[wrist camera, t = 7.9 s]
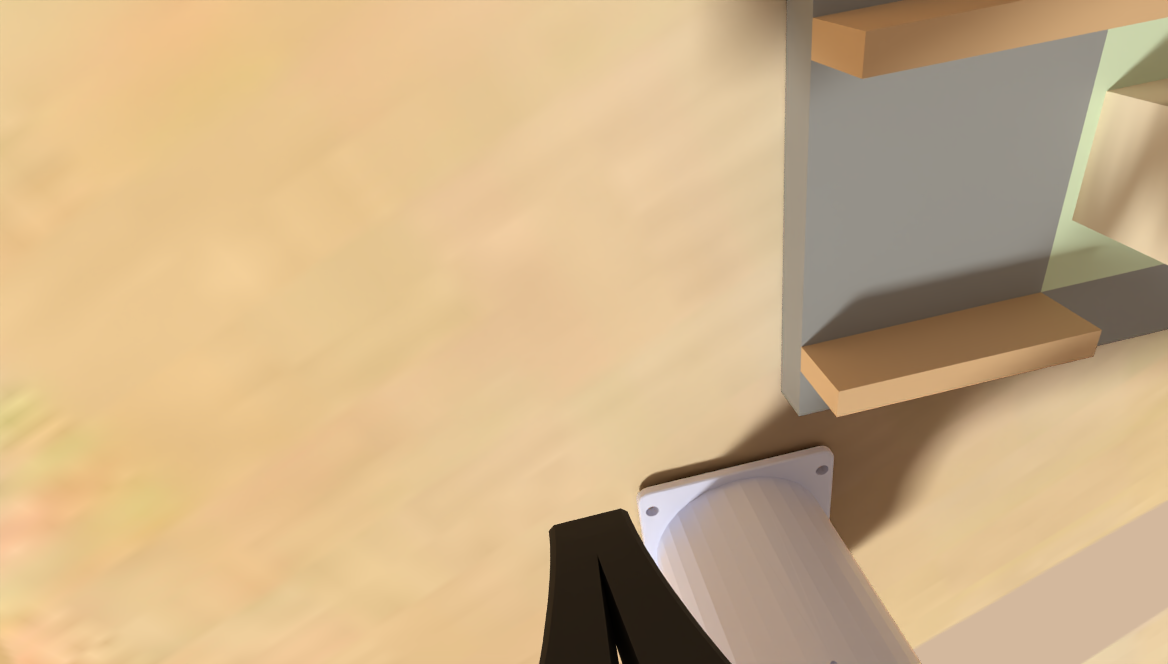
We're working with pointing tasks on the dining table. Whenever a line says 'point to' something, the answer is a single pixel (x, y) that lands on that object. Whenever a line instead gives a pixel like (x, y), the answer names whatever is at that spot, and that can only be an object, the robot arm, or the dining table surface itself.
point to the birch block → (1129, 170)
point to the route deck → (952, 193)
